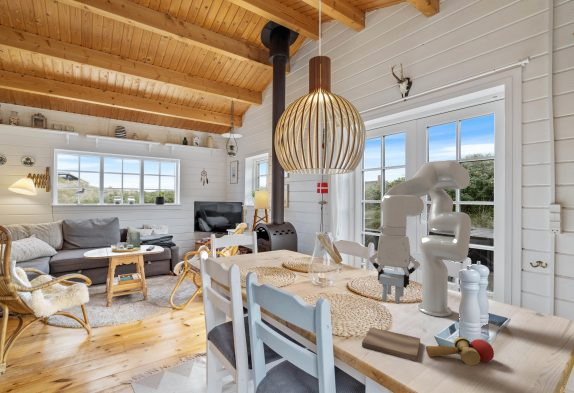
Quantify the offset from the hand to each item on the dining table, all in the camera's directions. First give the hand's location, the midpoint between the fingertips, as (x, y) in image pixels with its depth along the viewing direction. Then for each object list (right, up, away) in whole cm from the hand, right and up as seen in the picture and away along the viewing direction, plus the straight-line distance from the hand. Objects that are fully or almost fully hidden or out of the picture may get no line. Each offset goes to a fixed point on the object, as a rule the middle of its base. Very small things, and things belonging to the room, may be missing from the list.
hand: (393, 284), depth 97 cm
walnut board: (-2, -19, -3) cm, 19 cm away
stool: (0, -5, 0) cm, 5 cm away
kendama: (+16, -19, -11) cm, 27 cm away
